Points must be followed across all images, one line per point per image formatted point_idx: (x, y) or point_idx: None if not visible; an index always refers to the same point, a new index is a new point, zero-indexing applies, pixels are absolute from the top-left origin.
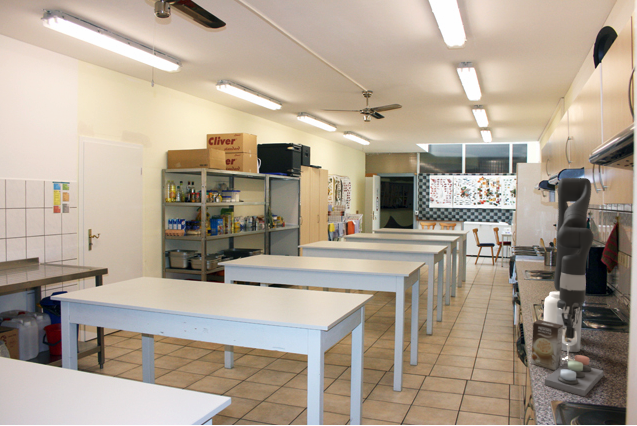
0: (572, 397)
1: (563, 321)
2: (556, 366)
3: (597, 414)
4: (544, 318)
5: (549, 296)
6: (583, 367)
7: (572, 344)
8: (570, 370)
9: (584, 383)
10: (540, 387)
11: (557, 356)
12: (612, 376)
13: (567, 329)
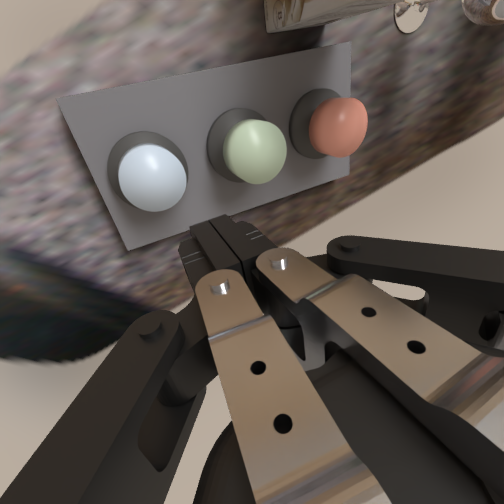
0: (73, 230)
1: (62, 422)
2: (283, 29)
3: (38, 333)
4: None
5: None
6: None
7: (466, 15)
8: (181, 174)
9: (189, 212)
10: (6, 103)
11: (314, 20)
12: (353, 184)
13: (193, 281)
